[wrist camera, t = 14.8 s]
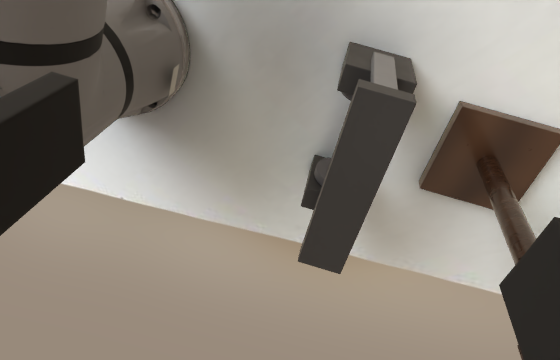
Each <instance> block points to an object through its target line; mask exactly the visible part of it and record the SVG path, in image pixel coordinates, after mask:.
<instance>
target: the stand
mask: <svg viewBox="0 0 560 360" xmlns="http://www.w3.org/2000/svg"><path fill="white" fill-rule="evenodd" d="M559 145H560V129H558V128H554V127H551V126H547V125H544V124H540V123H536V122H533V121H529V120H526V119H522V118H519V117H515V116H511V115H508V114H504V113H501V112H497V111H494V110H490V109H486V108H483V107H479V106H476V105H472V104H469V103H465V102H461V101H460V102H459V104H458V106H457V108H456V110H455V112H454V114H453V116H452V118H451V120H450V122H449V124H448V126H447V128H446V129H445V131H444V133H443V135H442V137H441V139H440V141H439V143H438V145H437V147H436V149H435V151H434V153H433V155H432V157H431V159H430V161H429V163H428V165H427V166H426V168H425V170H424V172H423V174H422V176H421V178H420V180H419V186H420V188H421V189H424V190H427V191H431V192H434V193H438V194H441V195H445V196H448V197H452V198H455V199H458V200H462V201H465V202H469V203H472V204H476V205H479V206H483V207H486V208H490V209H493V210H494V212H495V214H496V217H497V219H498V222H499V224H500V227H501V229H502V232H503V235H504V237H505V240H506V242H507V245H508V247H509V250H510V252H511V255H512V258H513V260H514V263H515V265H516V264H517V263H518V261H519V260H520V259H521V258H522V256H523V255H524V254H525V253H526V252H527V250H528V249H529V248H530V247H531V245H532V244H533V243H534V242H535V240H536V238H535V236H534V233H533V231H532V229H531V227H530V225H529V223H528V221H527V219H526V217H525V215H524V213H523V211H522V209H521V207H520V205H519V203H518V202H519V200H520V199H521V197H522V196H523V195H524V193H525V192H526V191H527V189H528V188H529V186H530V185H531V184H532V182H533V181H534V179H535V178H536V177H537V175H538V174H539V172H540V171H541V170H542V168H543V167H544V165H545V164H546V163H547V161H548V160H549V159H550V157H551V156H552V154H553V153H554V152H555V150H556V149H557V147H558V146H559ZM518 349H519V352H520V355H521V358H522V360H524V359H523V356H522V353H521V350H520V347H519V345H518Z"/></svg>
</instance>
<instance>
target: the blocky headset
mask: <svg viewBox="0 0 560 360" xmlns="http://www.w3.org/2000/svg"><path fill="white" fill-rule="evenodd" d="M416 85H417V83H416V78H415V74H414V70H413V66H412V61H411V59H410V58H407V57H403V56H399V55H396V54H392V53H388V52H385V51H381V50H378V49H374V48H370V47H367V46H363V45H360V44H356V43H352V42H350V43H349V46H348V49H347V53H346V56H345V59H344V62H343V66H342V70H341V75H340V80H339V84H338V89H337V90H338V91H341V92H342V94H343V95H344V96H345V97H346V98H348V99H349V100H350V101H351V103H350V106H349V109H348V112H347V115H346V118H345V121H344V123H343V126H342V129H341V132H340V135H339V138H338V141H337V144H336V147H335V150H334V153H333V156H332V158H324V157H320V156H317V155H314V159H313V162H312V165H311V168H310V172H309V176H308V179H307V183H306V187H305V191H304V195H303V199H302V203H301V206H302V207H306V208H309V209H312V210H314V211H313V214H312V217H311V220H310V223H309V226H308V229H307V232H306V235H305V238H304V240H303V243H302V246H301V249H300V254H299V258H298V261H299V262H302V263H305V264H308V265H312V266H315V267H318V268H321V269H325V270H328V271H331V272H335V273H338V274H340V273H341V271H342V269H343V266H344V264H345V262H346V260H347V258H348V255H349V253H350V251H351V249H352V246H353V244H354V242H355V240H356V237H357V235H358V233H359V231H360V228H361V226H362V224H363V222H364V219H365V217H366V215H367V213H368V211H369V208H370V206H371V204H372V202H373V199H374V197H375V195H376V193H377V190H378V188H379V186H380V184H381V181H382V179H383V177H384V175H385V172H386V170H387V168H388V166H389V163H390V161H391V159H392V157H393V154H394V152H395V150H396V148H397V145H398V143H399V141H400V139H401V136H402V134H403V132H404V130H405V128H406V125H407V123H408V121H409V119H410V116H411V114H412V112H413V110H414V107H415V105H416V100H415V95H414V94H413V92H414V89H415V87H416Z"/></svg>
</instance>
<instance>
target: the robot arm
mask: <svg viewBox="0 0 560 360" xmlns="http://www.w3.org/2000/svg"><path fill="white" fill-rule="evenodd" d="M189 61H190V47H189V40H188V35H187V31H186V28H185V25H184V22H183V20H182V18H181V15H180V13H179V12H178V10H177V8H176V6H175V5H174V3H173V1H172V0H0V235H2V234H3V233H4V232H5V231H6V230H7V229H8V228H10V227H11V226H12V225H13V224H14V223H15V222H17V221H18V220H19V219H20V218H21V217H22V216H23V215H25V214H26V213H27V212H28V211H29V210H30V209H31V208H33V207H34V206H35V205H36V204H37V203H38V202H39V201H41V200H42V199H43V198H44V197H45V196H46V195H48V194H49V193H50V192H51V191H52V190H53V189H54V188H56V187H57V186H58V185H59V184H60V183H62V182H63V181H64V180H65V179H66V178H67V177H68V176H70V175H71V174H72V173H73V172H74V171H75V170H76V169H78V168H79V167H80V166H81V165H82V164H83V163H85V156H84V146H85V145H86V144H88V143H89V142H90V141H91V140H93V139H94V138H95V137H96V136H97V135H99V134H100V133H101V132H102V131H103V130H105V129H106V128H107V127H108V126H110V125H111V124H112V123H113V122H114V121H116V120H117V119H119V118H124V117H129V116H134V115H139V114H143V113H147V112H150V111H153V110H155V109H157V108H159V107H161V106H162V105H164V104H165V103H166V102H167V101H168V100H170V99H171V98H172V97H173V96H174V95H175V94H176V93H177V92H178V90H179V89H180V88H181V86H182V84H183V82H184V80H185V78H186V75H187V72H188V68H189ZM499 286H500V289H501V292H502V295H503V298H504V301H505V304H506V307H507V310H508V313H509V316H510V320H511V322H512V326H513V329H514V331H515V335H516V338H517V341H518V344H519V347H520V350H521V353H522V356H523V359H524V360H560V218H557V217H554V218H553V219H552V221H551V222H550V223H549V224H548V226H547V227H546V228H545V229H544V230H543V232H542V233H541V234H540V235H539V237H538V238H537V239H536V240H535V242H534V243H533V244H532V245H531V247H530V248H529V249H528V250H527V252H526V253H525V254H524V255H523V256H522V258H521V259H520V260H519V261H518V263H517V264H516V265H515V266H514V268H513V269H512V270H511V271H510V273H509V274H508V275H507V276H506V277H505V279H504V280H503V281H502V282H501V284H500V285H499Z"/></svg>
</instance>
